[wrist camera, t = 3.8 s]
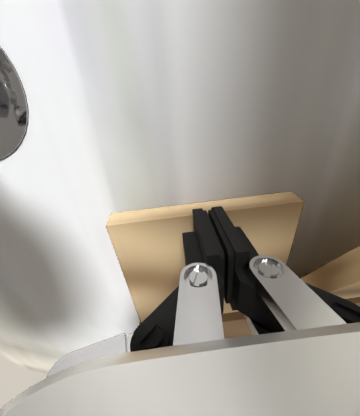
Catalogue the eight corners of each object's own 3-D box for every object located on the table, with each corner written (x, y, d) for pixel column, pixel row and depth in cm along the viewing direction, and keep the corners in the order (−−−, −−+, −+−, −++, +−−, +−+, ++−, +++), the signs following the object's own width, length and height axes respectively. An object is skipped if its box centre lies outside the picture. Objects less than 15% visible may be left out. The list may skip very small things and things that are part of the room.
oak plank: (111, 213, 11) (105, 225, 10) (290, 191, 11) (304, 201, 10) (143, 309, 16) (142, 324, 15) (266, 292, 17) (274, 306, 15)
